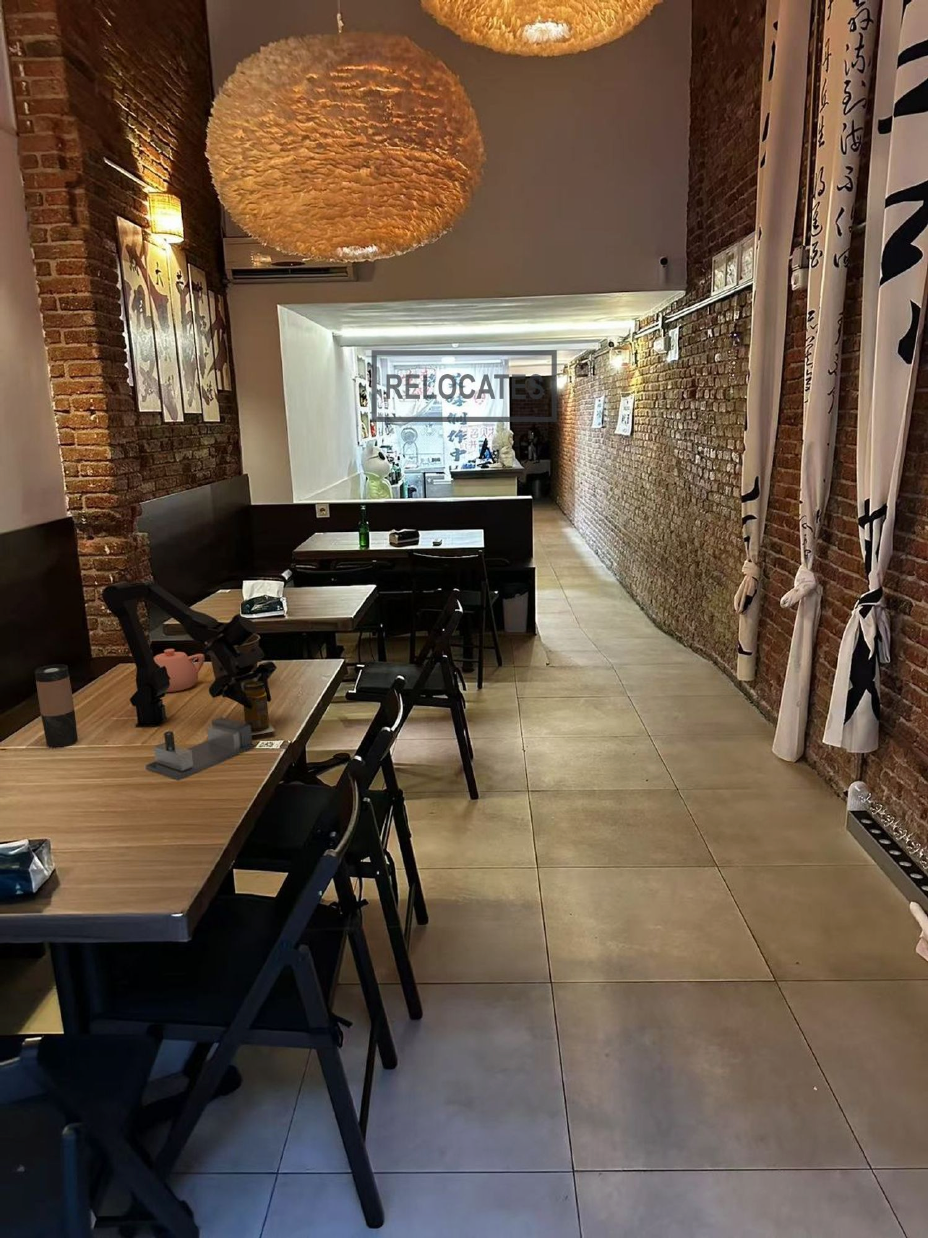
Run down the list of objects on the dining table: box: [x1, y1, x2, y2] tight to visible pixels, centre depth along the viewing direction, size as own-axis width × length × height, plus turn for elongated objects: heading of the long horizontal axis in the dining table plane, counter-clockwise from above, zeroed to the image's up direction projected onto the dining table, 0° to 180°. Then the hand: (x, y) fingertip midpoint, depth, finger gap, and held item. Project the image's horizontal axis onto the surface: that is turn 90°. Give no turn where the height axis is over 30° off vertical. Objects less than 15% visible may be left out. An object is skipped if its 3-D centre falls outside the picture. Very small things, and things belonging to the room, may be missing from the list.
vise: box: [145, 716, 255, 781], centre depth 187 cm, size 22×12×6 cm, turn 146°
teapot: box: [128, 648, 206, 693], centre depth 243 cm, size 22×15×12 cm
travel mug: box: [34, 664, 78, 749], centre depth 198 cm, size 8×8×20 cm
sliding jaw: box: [153, 730, 193, 771], centre depth 181 cm, size 3×10×8 cm, turn 56°
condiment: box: [243, 681, 276, 736], centre depth 201 cm, size 7×8×12 cm
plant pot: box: [204, 633, 261, 695], centre depth 238 cm, size 16×16×16 cm
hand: (260, 704), depth 200 cm, fingers closed on condiment, 6 cm apart
